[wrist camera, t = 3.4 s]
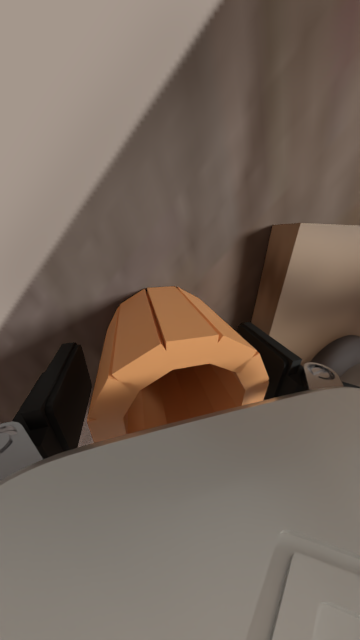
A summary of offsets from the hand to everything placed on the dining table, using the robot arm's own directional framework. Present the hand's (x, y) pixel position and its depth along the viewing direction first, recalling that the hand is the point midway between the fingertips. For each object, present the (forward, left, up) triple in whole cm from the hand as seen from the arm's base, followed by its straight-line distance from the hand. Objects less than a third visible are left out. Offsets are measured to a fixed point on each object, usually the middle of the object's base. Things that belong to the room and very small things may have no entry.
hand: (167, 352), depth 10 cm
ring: (0, 0, -2) cm, 2 cm away
